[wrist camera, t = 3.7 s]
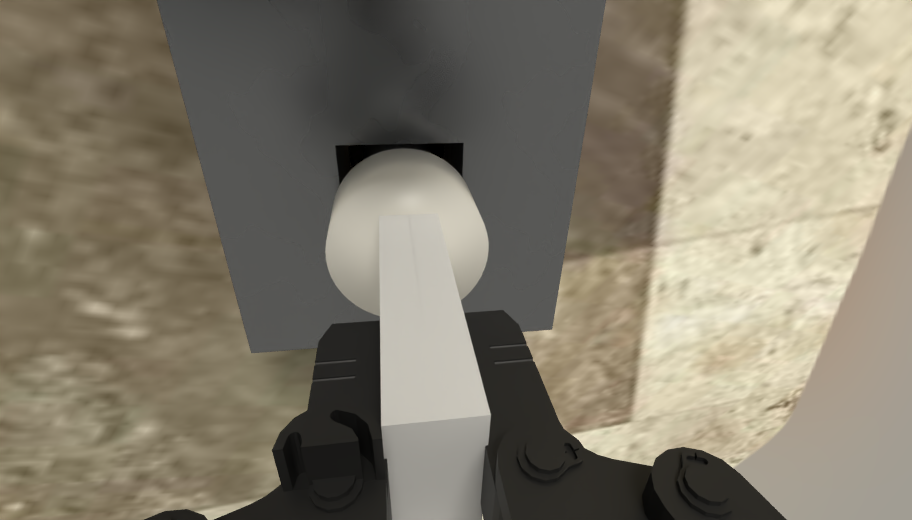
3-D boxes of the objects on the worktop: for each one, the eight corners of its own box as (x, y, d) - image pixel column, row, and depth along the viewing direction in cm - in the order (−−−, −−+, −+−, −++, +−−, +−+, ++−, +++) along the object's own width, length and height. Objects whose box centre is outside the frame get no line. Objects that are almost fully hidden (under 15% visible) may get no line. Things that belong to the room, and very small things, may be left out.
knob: (337, 105, 18) (315, 181, 11) (450, 104, 19) (493, 175, 12) (348, 210, 20) (334, 325, 13) (449, 206, 21) (484, 313, 14)
